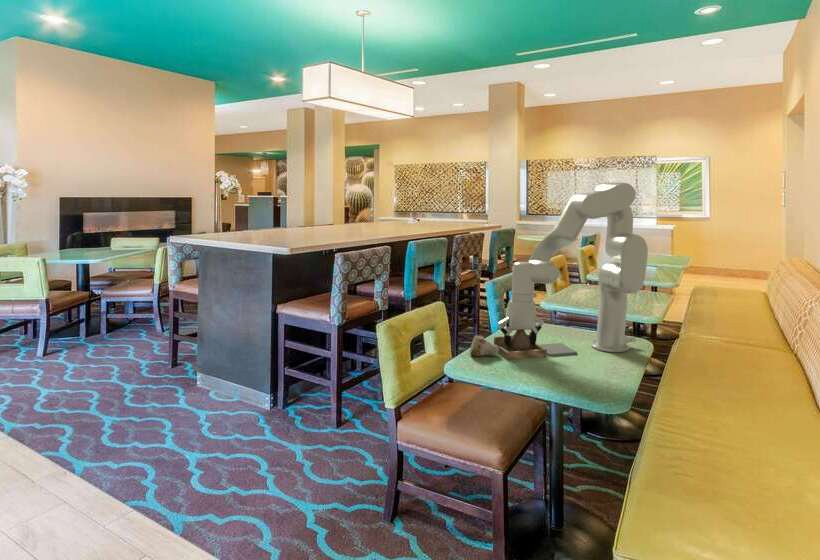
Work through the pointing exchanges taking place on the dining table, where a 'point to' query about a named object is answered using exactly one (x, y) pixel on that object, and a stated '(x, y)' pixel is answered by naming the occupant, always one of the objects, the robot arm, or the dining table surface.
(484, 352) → the mug
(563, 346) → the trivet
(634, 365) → the dining table surface
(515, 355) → the wooden frame
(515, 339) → the vase
